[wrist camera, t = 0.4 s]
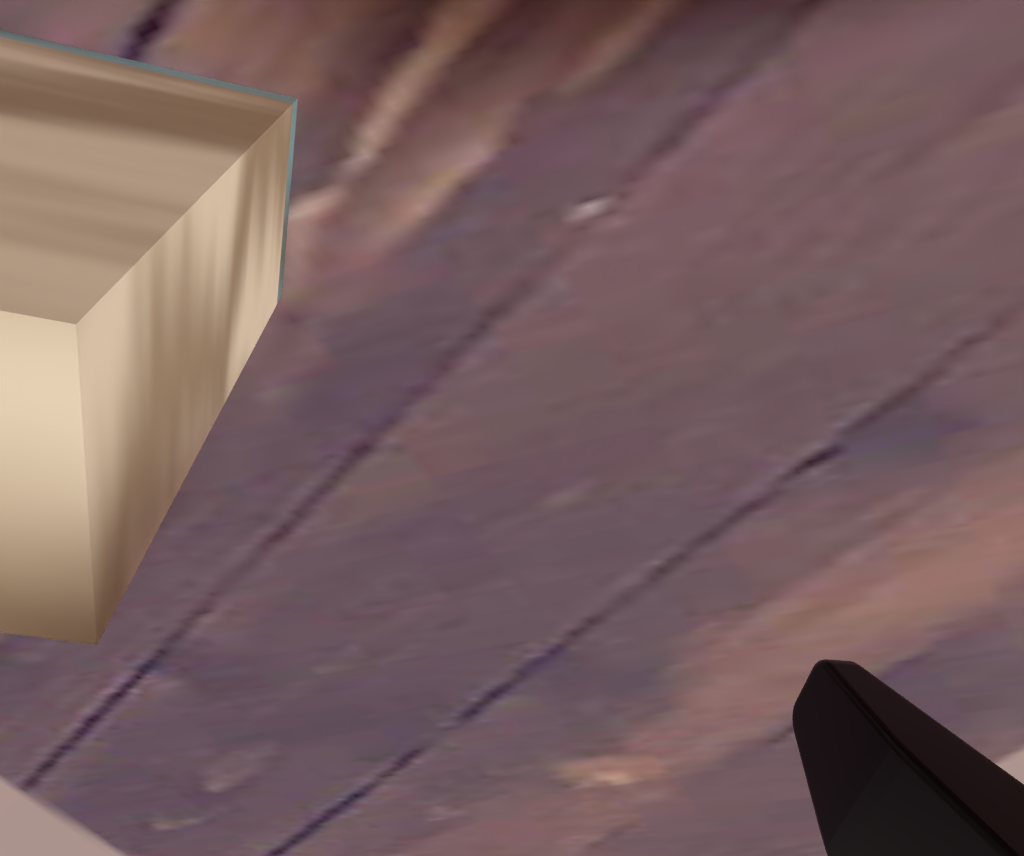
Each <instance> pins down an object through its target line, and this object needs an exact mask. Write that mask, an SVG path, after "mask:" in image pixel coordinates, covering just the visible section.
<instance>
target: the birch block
mask: <svg viewBox="0 0 1024 856" xmlns="http://www.w3.org/2000/svg"><path fill="white" fill-rule="evenodd" d="M297 103H298V98H295V97H290V96H286V95H282V94H277V93H273V92H268V91H264V90H260V89H255V88H251V87H247V86H242V85H238V84H234V83H229V82H225V81H221V80H216V79H212V78H208V77H203V76H199V75H195V74H190V73H186V72H181V71H177V70H173V69H168V68H164V67H160V66H155V65H151V64H147V63H142V62H138V61H134V60H129V59H125V58H121V57H116V56H112V55H107V54H103V53H99V52H94V51H90V50H86V49H81V48H77V47H73V46H68V45H64V44H60V43H55V42H51V41H47V40H42V39H38V38H34V37H29V36H25V35H20V34H16V33H12V32H7V31H3V30H0V632H3V633H10V634H18V635H26V636H33V637H41V638H49V639H56V640H64V641H71V642H79V643H87V644H94V645H97V644H98V642H99V640H100V638H101V636H102V634H103V633H104V631H105V629H106V627H107V625H108V623H109V621H110V619H111V617H112V616H113V614H114V612H115V610H116V608H117V606H118V604H119V602H120V600H121V599H122V597H123V595H124V593H125V591H126V589H127V587H128V585H129V583H130V581H131V580H132V578H133V576H134V574H135V572H136V570H137V568H138V566H139V564H140V563H141V561H142V559H143V557H144V555H145V553H146V551H147V549H148V547H149V545H150V544H151V542H152V540H153V538H154V536H155V534H156V532H157V530H158V528H159V527H160V525H161V523H162V521H163V519H164V517H165V515H166V513H167V511H168V510H169V508H170V506H171V504H172V502H173V500H174V498H175V496H176V494H177V492H178V491H179V489H180V487H181V485H182V483H183V481H184V479H185V477H186V475H187V474H188V472H189V470H190V468H191V466H192V464H193V462H194V460H195V458H196V457H197V455H198V453H199V451H200V449H201V447H202V445H203V443H204V441H205V439H206V438H207V436H208V434H209V432H210V430H211V428H212V426H213V424H214V422H215V421H216V419H217V417H218V415H219V413H220V411H221V409H222V407H223V405H224V404H225V402H226V400H227V398H228V396H229V394H230V392H231V390H232V388H233V386H234V385H235V383H236V381H237V379H238V377H239V375H240V373H241V371H242V369H243V368H244V366H245V364H246V362H247V360H248V358H249V356H250V354H251V352H252V351H253V349H254V347H255V345H256V343H257V341H258V339H259V337H260V335H261V333H262V332H263V330H264V328H265V326H266V324H267V322H268V320H269V318H270V316H271V315H272V313H273V311H274V309H275V307H276V305H277V303H278V301H279V299H280V297H281V296H282V285H283V273H284V261H285V248H286V236H287V224H288V212H289V200H290V188H291V176H292V163H293V151H294V139H295V127H296V115H297Z"/></svg>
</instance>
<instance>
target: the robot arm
mask: <svg viewBox="0 0 1024 856" xmlns="http://www.w3.org/2000/svg"><path fill="white" fill-rule="evenodd" d="M793 728H794V733H795V737H796V741H797V744H798V748H799V752H800V756H801V760H802V764H803V767H804V771H805V775H806V779H807V783H808V787H809V791H810V794H811V798H812V802H813V806H814V810H815V814H816V817H817V821H818V825H819V829H820V832H821V836H822V839H823V842H824V846H825V849H826V852H827V855H828V856H1024V784H1022V783H1021V782H1020V781H1018V780H1017V779H1015V778H1014V777H1013V776H1011V775H1010V774H1008V773H1007V772H1006V771H1004V770H1003V769H1002V768H1000V767H999V766H997V765H996V764H995V763H993V762H992V761H991V760H989V759H988V758H986V757H985V756H984V755H982V754H981V753H980V752H978V751H977V750H975V749H974V748H973V747H971V746H970V745H969V744H967V743H966V742H964V741H963V740H962V739H960V738H959V737H958V736H956V735H955V734H953V733H952V732H951V731H949V730H948V729H947V728H945V727H944V726H942V725H941V724H940V723H938V722H937V721H936V720H934V719H933V718H931V717H930V716H929V715H927V714H926V713H924V712H923V711H922V710H920V709H919V708H918V707H916V706H915V705H913V704H912V703H911V702H909V701H908V700H907V699H905V698H904V697H902V696H901V695H900V694H898V693H897V692H896V691H894V690H893V689H891V688H890V687H889V686H887V685H886V684H885V683H883V682H882V681H880V680H879V679H878V678H876V677H875V676H874V675H872V674H871V673H869V672H868V671H867V670H865V669H864V668H863V667H861V666H860V665H858V664H856V663H854V662H851V661H840V660H827V659H826V660H820V661H819V662H817V663H816V664H815V665H814V667H813V669H812V671H811V673H810V675H809V677H808V679H807V681H806V683H805V685H804V687H803V689H802V690H801V692H800V694H799V696H798V698H797V700H796V702H795V705H794V709H793Z"/></svg>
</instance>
